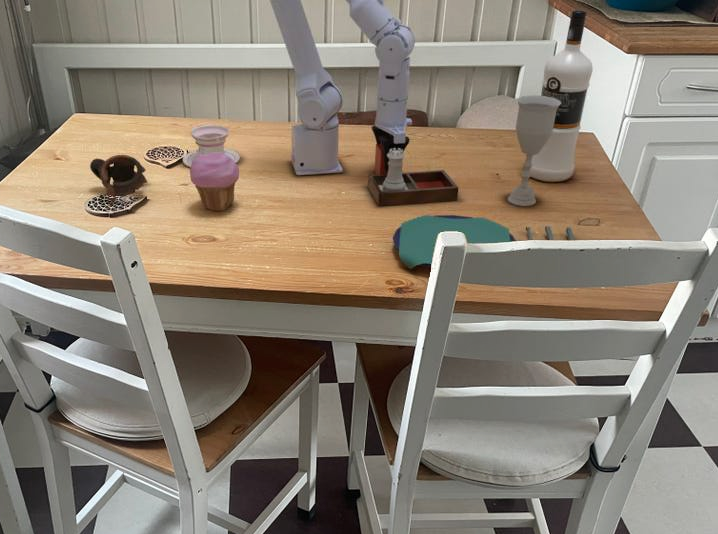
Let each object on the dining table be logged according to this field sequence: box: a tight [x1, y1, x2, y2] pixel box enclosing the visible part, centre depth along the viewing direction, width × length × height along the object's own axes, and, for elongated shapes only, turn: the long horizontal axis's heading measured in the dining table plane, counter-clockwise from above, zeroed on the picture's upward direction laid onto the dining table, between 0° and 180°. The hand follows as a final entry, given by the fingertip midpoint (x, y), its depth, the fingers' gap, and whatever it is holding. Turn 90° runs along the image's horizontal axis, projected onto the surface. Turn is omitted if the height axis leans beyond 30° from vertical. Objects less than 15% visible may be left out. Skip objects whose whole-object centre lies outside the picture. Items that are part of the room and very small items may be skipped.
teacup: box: [182, 124, 240, 168], centre depth 151 cm, size 12×12×6 cm
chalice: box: [507, 94, 561, 207], centre depth 129 cm, size 7×7×18 cm
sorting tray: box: [367, 169, 459, 207], centre depth 137 cm, size 15×9×2 cm, turn 98°
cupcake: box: [189, 152, 240, 212], centre depth 131 cm, size 9×9×10 cm
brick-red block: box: [374, 143, 388, 175], centre depth 143 cm, size 4×4×6 cm
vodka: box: [530, 9, 593, 183], centre depth 136 cm, size 9×9×30 cm
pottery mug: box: [89, 154, 148, 203], centre depth 138 cm, size 12×10×8 cm
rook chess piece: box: [382, 148, 406, 192], centre depth 135 cm, size 4×4×8 cm
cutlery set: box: [392, 214, 575, 270], centre depth 117 cm, size 20×30×2 cm, turn 82°
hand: (388, 167), depth 144 cm, fingers closed on brick-red block, 4 cm apart
